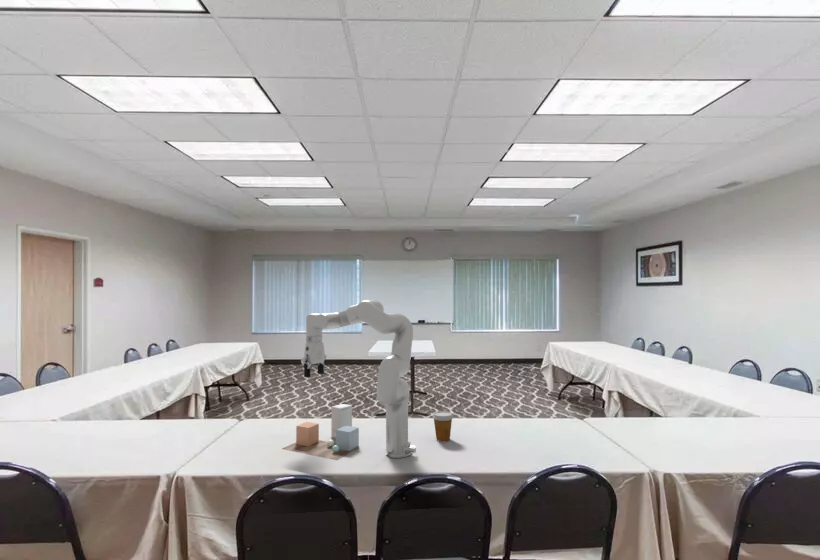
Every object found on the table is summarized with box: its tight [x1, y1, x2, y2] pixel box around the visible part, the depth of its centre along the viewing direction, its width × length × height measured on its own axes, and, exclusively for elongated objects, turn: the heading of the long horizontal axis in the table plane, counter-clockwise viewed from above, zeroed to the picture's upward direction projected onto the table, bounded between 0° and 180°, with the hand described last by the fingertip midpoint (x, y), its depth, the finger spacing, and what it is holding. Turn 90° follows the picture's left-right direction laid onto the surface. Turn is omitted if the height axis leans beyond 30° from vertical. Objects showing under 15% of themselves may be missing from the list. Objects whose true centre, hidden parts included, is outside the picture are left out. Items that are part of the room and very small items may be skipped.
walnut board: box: [281, 440, 360, 461], centre depth 182 cm, size 30×16×2 cm, turn 63°
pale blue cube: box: [335, 426, 360, 451], centre depth 183 cm, size 7×7×8 cm
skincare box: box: [330, 403, 353, 439], centre depth 199 cm, size 8×7×16 cm
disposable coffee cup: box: [432, 410, 454, 442], centre depth 197 cm, size 10×10×12 cm
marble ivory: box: [326, 439, 335, 447], centre depth 184 cm, size 3×3×3 cm
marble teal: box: [332, 445, 339, 453], centre depth 177 cm, size 3×3×3 cm
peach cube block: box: [295, 421, 320, 446], centre depth 189 cm, size 7×7×8 cm
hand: (314, 375), depth 199 cm, fingers open, 9 cm apart
